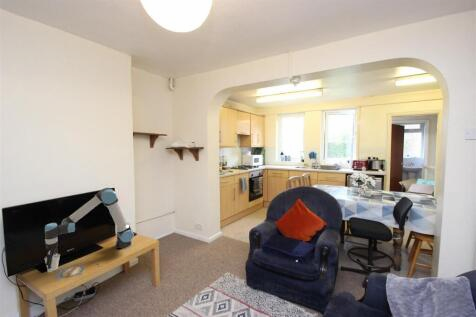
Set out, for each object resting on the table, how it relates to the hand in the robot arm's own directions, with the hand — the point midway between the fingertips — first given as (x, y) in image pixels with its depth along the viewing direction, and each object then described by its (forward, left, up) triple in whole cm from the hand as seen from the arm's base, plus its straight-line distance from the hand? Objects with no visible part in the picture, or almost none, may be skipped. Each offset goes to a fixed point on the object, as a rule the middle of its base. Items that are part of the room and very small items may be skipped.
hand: (52, 267), depth 184 cm
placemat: (-14, +10, -2) cm, 17 cm away
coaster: (-15, +11, -1) cm, 19 cm away
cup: (0, 0, -2) cm, 2 cm away
